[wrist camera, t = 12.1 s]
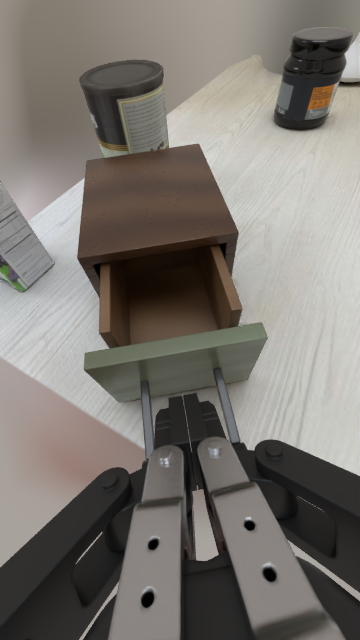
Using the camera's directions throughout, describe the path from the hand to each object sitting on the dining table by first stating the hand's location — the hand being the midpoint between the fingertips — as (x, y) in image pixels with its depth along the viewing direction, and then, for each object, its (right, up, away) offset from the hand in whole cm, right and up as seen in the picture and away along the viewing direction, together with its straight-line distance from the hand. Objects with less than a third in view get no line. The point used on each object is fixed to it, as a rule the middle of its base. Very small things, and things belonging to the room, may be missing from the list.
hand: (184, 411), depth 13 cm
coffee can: (-7, +27, +29) cm, 41 cm away
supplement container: (+24, +46, +39) cm, 65 cm away
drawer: (-1, +2, +11) cm, 11 cm away
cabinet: (-3, +12, +19) cm, 22 cm away
